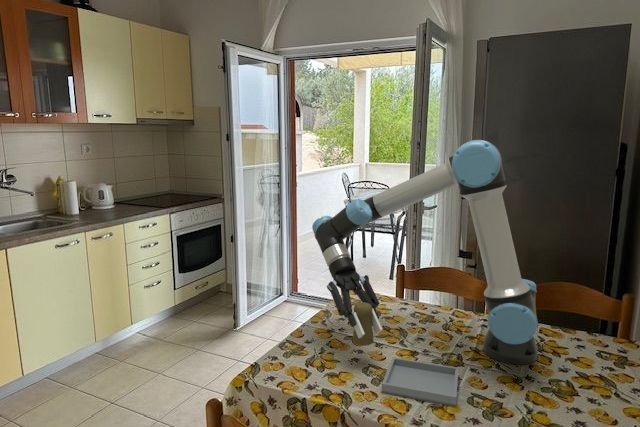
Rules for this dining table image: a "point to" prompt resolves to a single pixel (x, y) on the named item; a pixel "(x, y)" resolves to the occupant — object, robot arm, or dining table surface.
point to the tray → (421, 381)
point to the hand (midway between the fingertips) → (370, 333)
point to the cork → (364, 324)
